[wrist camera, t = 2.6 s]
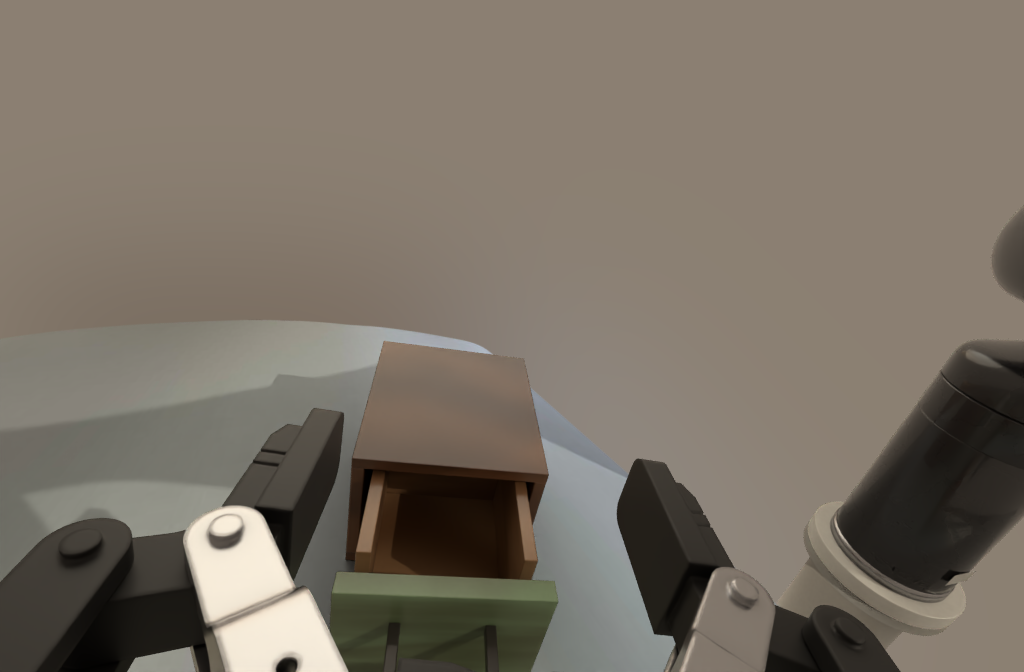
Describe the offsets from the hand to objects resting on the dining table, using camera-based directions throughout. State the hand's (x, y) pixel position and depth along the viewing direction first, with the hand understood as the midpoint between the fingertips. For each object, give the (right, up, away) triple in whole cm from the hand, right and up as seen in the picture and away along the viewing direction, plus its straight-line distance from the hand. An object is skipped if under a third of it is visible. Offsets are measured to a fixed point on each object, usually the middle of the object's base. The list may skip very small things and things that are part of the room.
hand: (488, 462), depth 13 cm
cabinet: (-6, -10, +29) cm, 31 cm away
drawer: (-4, -14, +19) cm, 24 cm away
